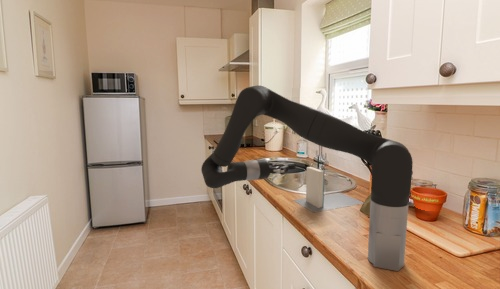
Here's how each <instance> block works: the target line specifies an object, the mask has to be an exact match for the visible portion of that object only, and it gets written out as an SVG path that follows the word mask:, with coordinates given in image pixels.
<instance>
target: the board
mask: <svg viewBox="0 0 500 289" xmlns="http://www.w3.org/2000/svg"><path fill="white" fill-rule="evenodd" d="M292 201H293V202H294V203H297V204H299V206H302V207H303V208H305V209H307V210H308V211H310V212H312V213H320V212H324V211H331V210H334V209H335V210H336V209H341V208H346V207H351V206H352V207H353V206H358V205H362V204H363V203H364V202H365V201H364V202H363V201H361V200H360V199H356V198H355V197H351V196H350V195H346V194H344V193H343V192H335V193H329V194H324V207H320V208H318V207H316V206H314V205H312V204H310V203H309V202H307V201H306V197H303V198H298V199H293V200H292Z"/></svg>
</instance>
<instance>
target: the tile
mask: <svg viewBox="0 0 500 289" xmlns="http://www.w3.org/2000/svg"><path fill="white" fill-rule="evenodd" d="M305 178H306V179H305V180H306V186H305V188H306V189H305V193H306V194H305V198H306V201H307V202H309V203H310V204H312V205H314V206H316V207H318V208H320V207H324V195H325V170H322V169H319V168H317V167H313V166H307V167H306V177H305Z"/></svg>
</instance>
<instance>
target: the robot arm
mask: <svg viewBox="0 0 500 289" xmlns="http://www.w3.org/2000/svg"><path fill="white" fill-rule="evenodd" d="M260 116H267V117H269V118H272V119H275V120H277V121H280V122H281V123H283V124H285V125H286V126H287V127H288V128H289V129H291V130H292V131H293V132H294V133H295V134H296V135H298V136H299V137H301V138H303V139H305V140H307V141H309V142H311V143H313V144H315V145H318V146H320V147H323V148H326V149H329V150H334V151H337V152H342V153H347V154H350V155H354V156H356V157H358V158H359V159H361V160H363V161H365V162H368V163H369V164H371V184H370V185H371V186H370V193H371V205H370V215H369V217H370V218H369V222H368V223H369V226H368V247H367V248H368V249H367V250H368V251H367V259H368V261H369V262H370V263H371V264H372V265H373V267H374V268H379V269H385V270H390V271H395V272H399V271H400V269H402V268H404V266H405V259H406V255H405V254H406V242H407V231H408V230H407V228H408V227H407V226H408V213H409V204H410V203H409V196H410V190H411V179H412V177H413V174H412V171H413V165H414V164H413V162H414V161H413V157H412V154H411V152H410V151H409V149H408V148H407V147H406V146H405V145H404V144H403V143H400V142H398V141H395V140H392V139H388V138H384V137H382V136H377V135H375V134H372V133H369V132H367V131H363V130H361V129H360V128H357V127H356V126H354V125H353V124H350V123H348V122H346V121H344V120H342V119H340V118H338V117H336V116H334V115H332V114H328V113H327V112H324V111H321V110H319V109H316V108H313V107H311V106H308V105H306V104H302V103H299V102H297V101H293V100H290V99H288V98H287V97H285V96H283V95H281V94H279V93H277V92H276V91H273V90H272V89H270V88H267V87H265V86H264V85H253V86H252V85H251V86H248V87H245V88H243V89H242V90H241V91H240V92H239V93H238V96H237V98H236V100H235V104H234V107H233V110H232V113H231V115H230V118H229V121H228V123H227V125H226V128H225V130H224V132H223V134H222V136H221V138H220V140H219V142H218V143H217V145H216V146H215V148H214V151H213V152H212V153H211V154H210V155H209V156H208V157H207V158H206V159H205V160H204V161H203V162H202V165H201V170H200V171H201V174H202V177H203V179H204V183H205V185H206V187H208V188H210V189H218V188H221V187H224V186H227V185H229V184H232V183H235V182H241V181H242V182H243V181H256V180H265V179H266V180H267V179H268V178H269V177H270V175H276V174H280V175H281V176H283V175H285V174H287V173H289V171H291V170H295V169H296V165H297V164H295V163H294V162H289V163H285V162H283V163H282V162H281V161H280V162H279V161H277V162H276V161H268V160H267V159H266V158H265V159H264V158H263V159H248V160H244V161H235V162H233V160H234V158H235V156H236V155H237V153H238V152H239V149H240V147H241V145H242V140H243V137H244V135H245V132H246V130H247V129H248V127H250V124H251V123H252V122H253V121H254V120H255V118H257V117H260ZM222 167H226V171H223V169H222ZM408 203H409V204H408Z"/></svg>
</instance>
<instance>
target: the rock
mask: <svg viewBox="0 0 500 289" xmlns="http://www.w3.org/2000/svg"><path fill="white" fill-rule="evenodd" d="M370 205H371V192H370V193H369V195H368V196H367V197H366V199H365V200H364V203H363V204H361V207H360V208H359V212H362V213H364V214H365V215H367V218H368V219H370Z"/></svg>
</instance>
